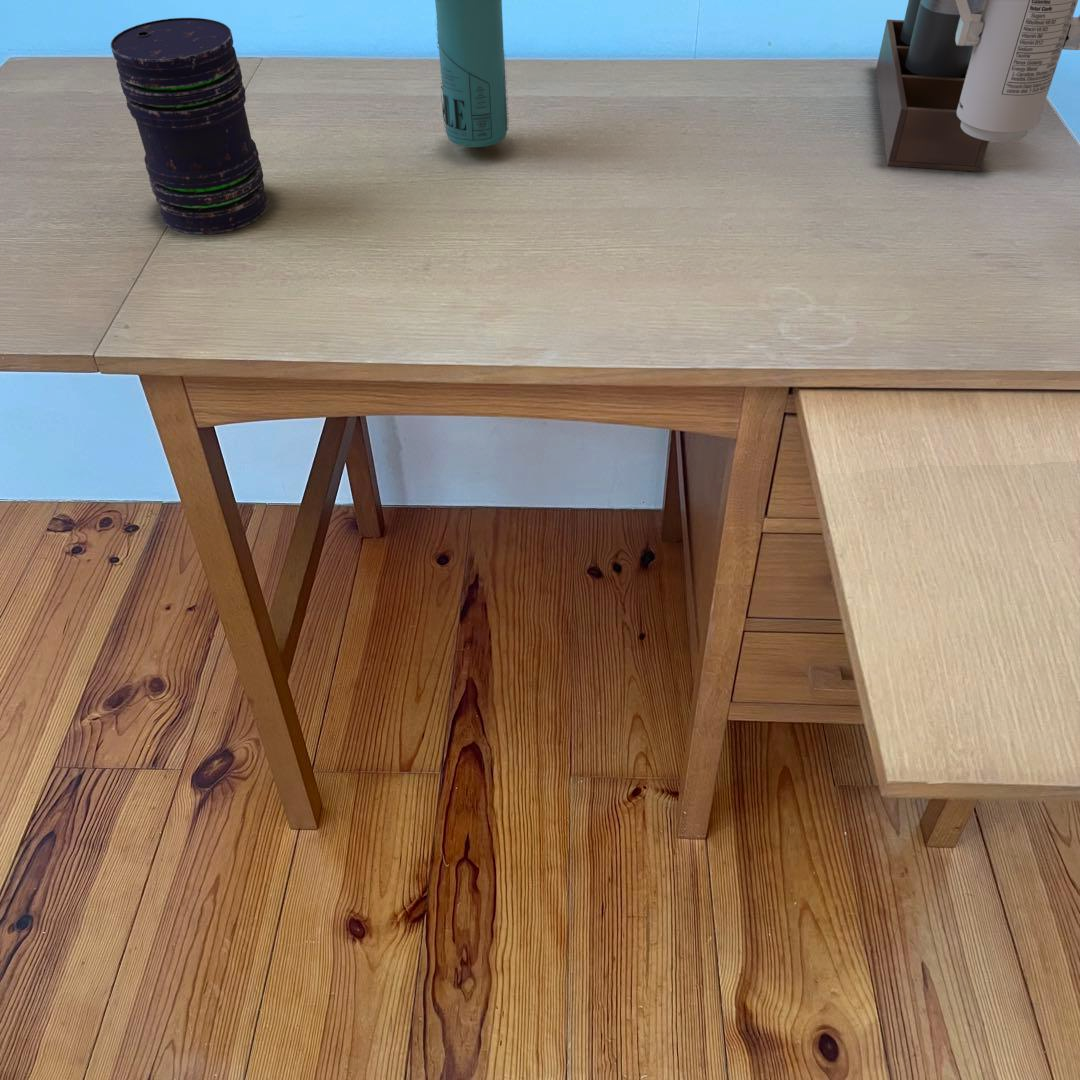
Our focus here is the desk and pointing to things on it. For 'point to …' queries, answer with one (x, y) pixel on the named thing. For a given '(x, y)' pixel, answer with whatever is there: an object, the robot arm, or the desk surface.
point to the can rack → (922, 114)
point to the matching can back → (909, 22)
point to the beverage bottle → (472, 71)
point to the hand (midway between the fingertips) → (1017, 45)
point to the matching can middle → (939, 40)
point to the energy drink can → (1013, 67)
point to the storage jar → (192, 123)
